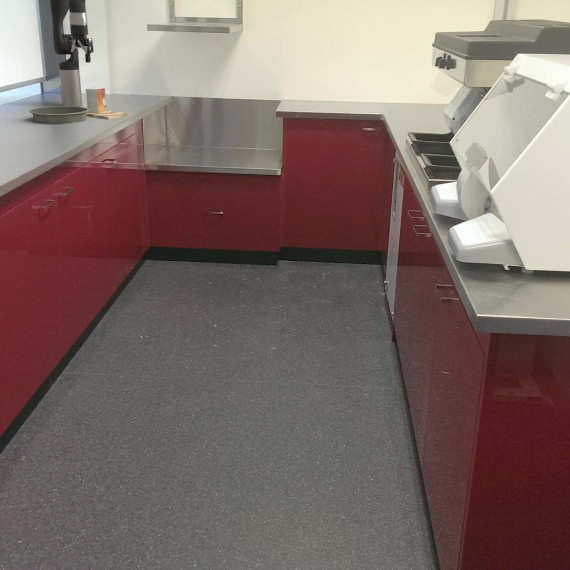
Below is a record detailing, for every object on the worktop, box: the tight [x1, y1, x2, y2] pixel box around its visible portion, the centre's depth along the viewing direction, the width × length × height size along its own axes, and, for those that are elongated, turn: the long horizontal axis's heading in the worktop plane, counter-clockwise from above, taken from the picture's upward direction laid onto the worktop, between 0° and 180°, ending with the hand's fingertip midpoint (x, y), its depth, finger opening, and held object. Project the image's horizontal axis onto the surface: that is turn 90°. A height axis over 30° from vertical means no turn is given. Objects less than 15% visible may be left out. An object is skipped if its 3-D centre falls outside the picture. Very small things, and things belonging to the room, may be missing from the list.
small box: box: [85, 86, 108, 113], centre depth 309 cm, size 8×6×10 cm
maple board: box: [86, 110, 132, 120], centre depth 308 cm, size 20×13×1 cm, turn 55°
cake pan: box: [28, 105, 89, 124], centre depth 294 cm, size 25×25×4 cm
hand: (81, 61), depth 308 cm, fingers open, 8 cm apart
